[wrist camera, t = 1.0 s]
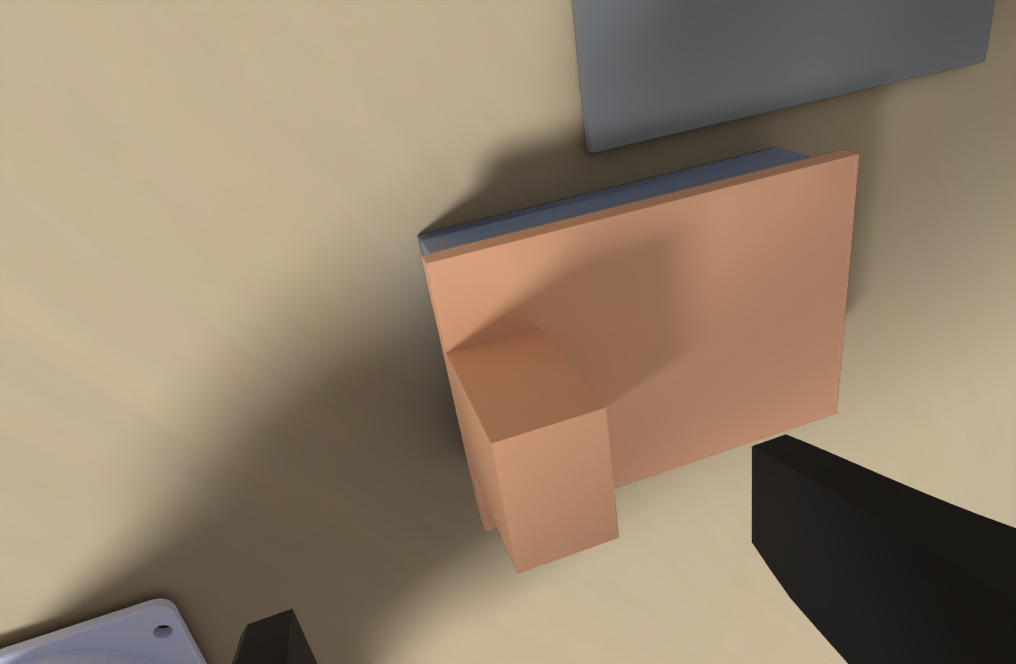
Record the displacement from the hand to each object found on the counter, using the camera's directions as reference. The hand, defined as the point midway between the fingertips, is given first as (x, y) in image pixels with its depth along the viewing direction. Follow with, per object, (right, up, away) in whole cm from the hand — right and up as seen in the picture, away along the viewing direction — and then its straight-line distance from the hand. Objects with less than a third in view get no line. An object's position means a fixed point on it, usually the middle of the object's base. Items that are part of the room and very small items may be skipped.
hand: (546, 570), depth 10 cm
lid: (+3, +3, +9) cm, 10 cm away
